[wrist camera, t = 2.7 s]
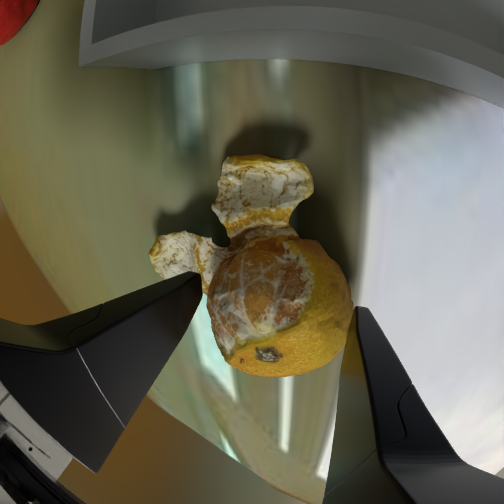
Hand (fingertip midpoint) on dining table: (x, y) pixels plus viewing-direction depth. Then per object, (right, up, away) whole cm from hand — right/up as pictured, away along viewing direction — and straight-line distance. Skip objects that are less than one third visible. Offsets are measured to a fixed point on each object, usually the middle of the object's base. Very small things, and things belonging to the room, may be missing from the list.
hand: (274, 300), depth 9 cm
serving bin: (+3, +15, -6) cm, 16 cm away
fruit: (-3, +3, +4) cm, 6 cm away
